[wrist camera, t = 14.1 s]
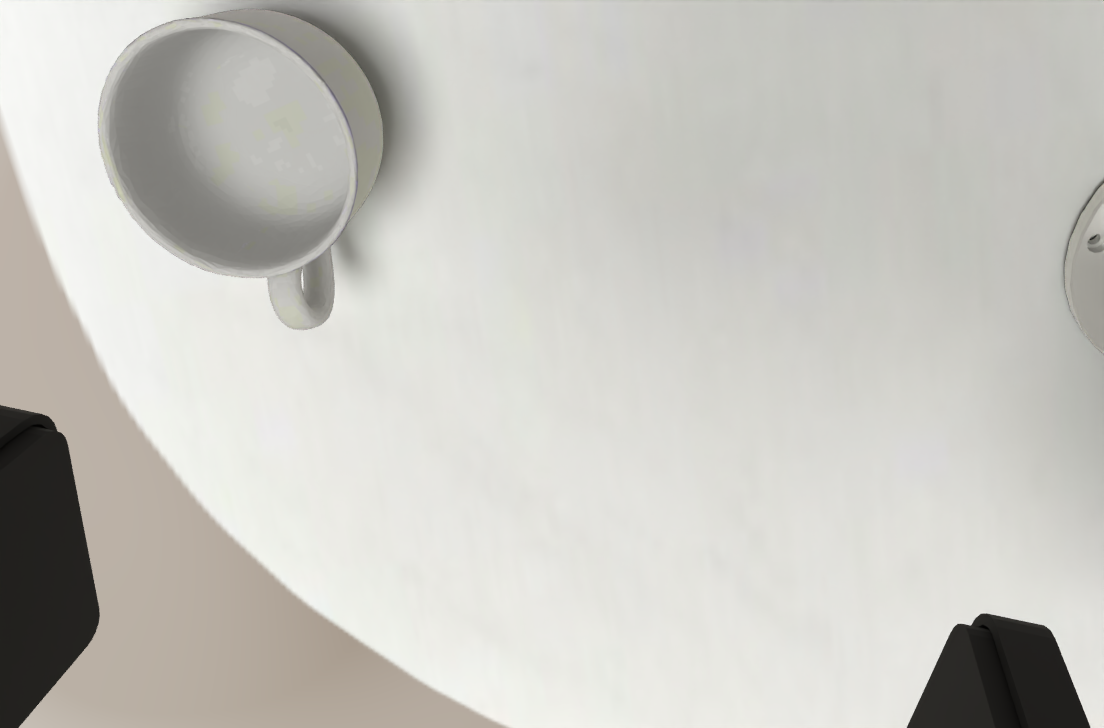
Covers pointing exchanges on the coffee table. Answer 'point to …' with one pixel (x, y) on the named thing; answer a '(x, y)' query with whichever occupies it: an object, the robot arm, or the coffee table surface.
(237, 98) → the teacup
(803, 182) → the coffee table surface
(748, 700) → the coffee table surface
